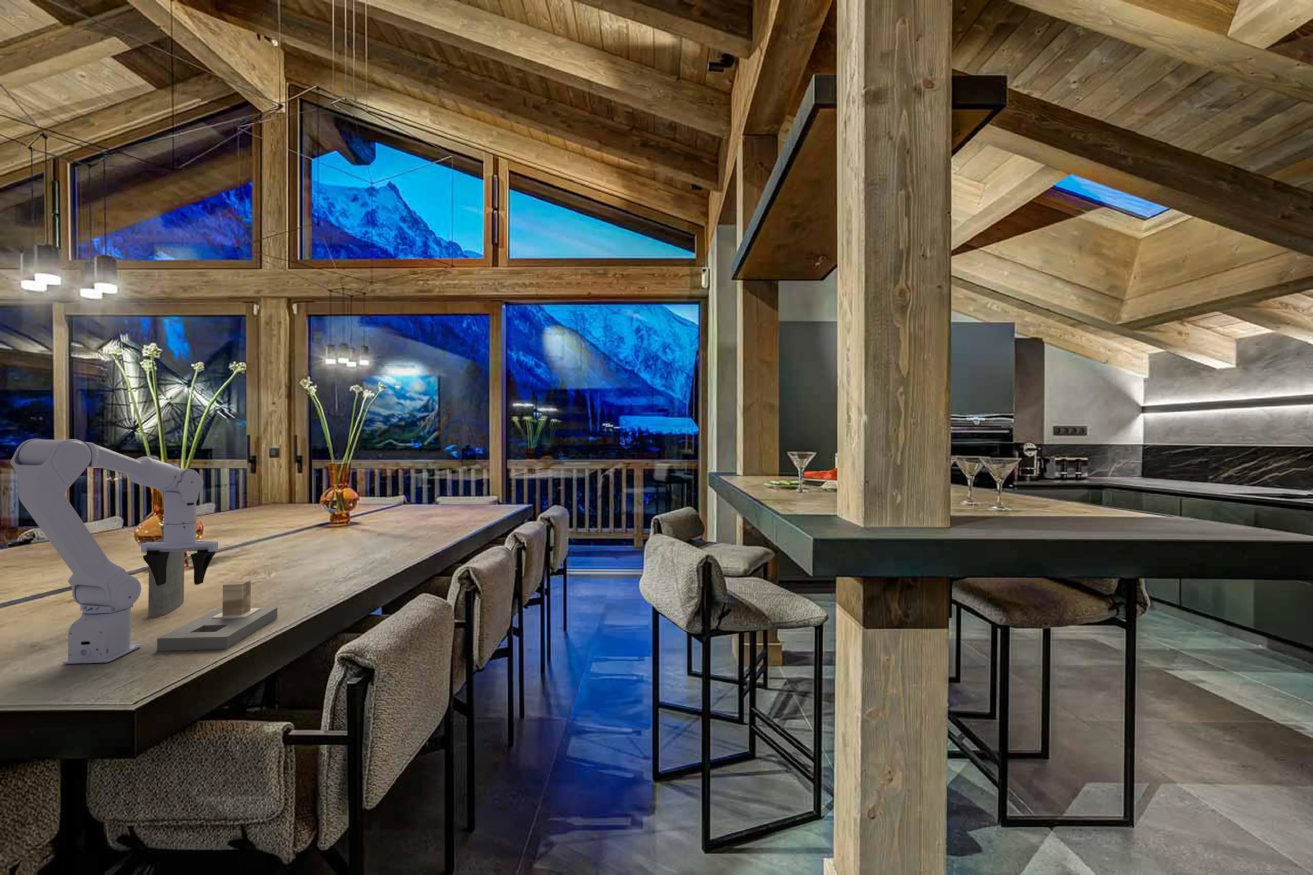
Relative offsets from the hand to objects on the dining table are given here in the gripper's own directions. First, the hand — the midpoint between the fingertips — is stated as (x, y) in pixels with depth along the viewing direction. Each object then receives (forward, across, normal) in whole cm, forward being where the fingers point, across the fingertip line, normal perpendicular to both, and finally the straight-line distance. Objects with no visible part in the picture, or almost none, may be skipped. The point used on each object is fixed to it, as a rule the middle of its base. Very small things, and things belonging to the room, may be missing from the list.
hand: (180, 584), depth 138 cm
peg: (+8, -10, -4) cm, 13 cm away
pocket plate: (+10, -10, +2) cm, 15 cm away
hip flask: (+11, +14, -20) cm, 26 cm away
